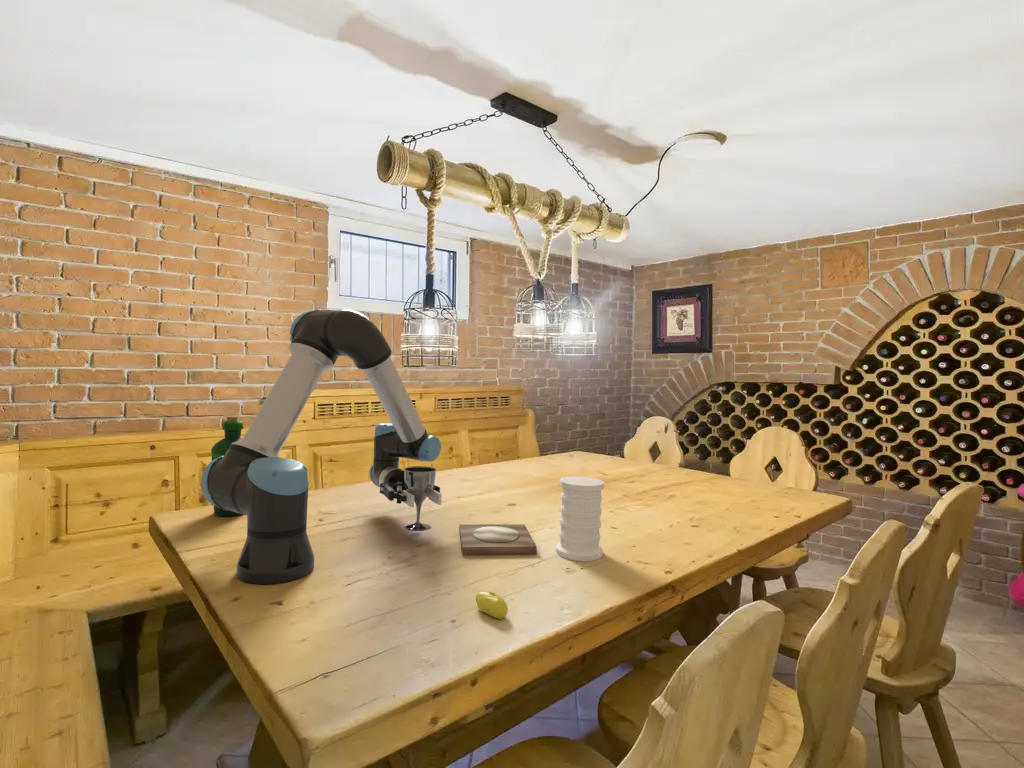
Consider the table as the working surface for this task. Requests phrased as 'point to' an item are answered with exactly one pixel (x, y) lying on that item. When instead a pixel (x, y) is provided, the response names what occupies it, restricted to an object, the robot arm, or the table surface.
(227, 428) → the bottle
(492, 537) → the dock
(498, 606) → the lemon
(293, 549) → the robot arm
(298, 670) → the table surface
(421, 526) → the silver goblet
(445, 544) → the table surface
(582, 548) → the decorative container
